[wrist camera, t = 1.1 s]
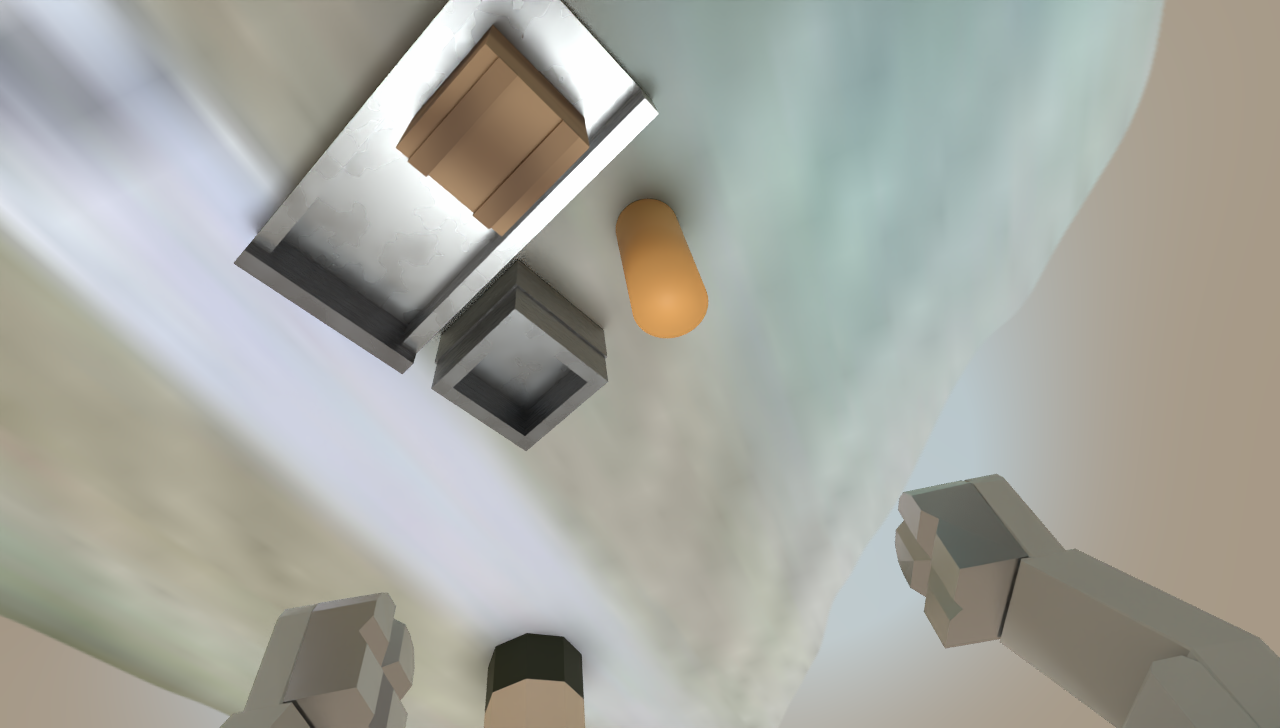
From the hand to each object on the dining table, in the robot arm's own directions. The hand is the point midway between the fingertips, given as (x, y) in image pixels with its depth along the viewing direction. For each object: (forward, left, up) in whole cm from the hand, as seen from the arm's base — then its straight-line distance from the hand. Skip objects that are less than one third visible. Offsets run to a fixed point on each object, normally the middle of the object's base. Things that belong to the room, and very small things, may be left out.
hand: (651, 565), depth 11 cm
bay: (+7, -2, -30) cm, 31 cm away
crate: (+3, -2, -29) cm, 29 cm away
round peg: (+2, +8, -30) cm, 31 cm away
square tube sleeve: (+12, +7, -30) cm, 33 cm away
